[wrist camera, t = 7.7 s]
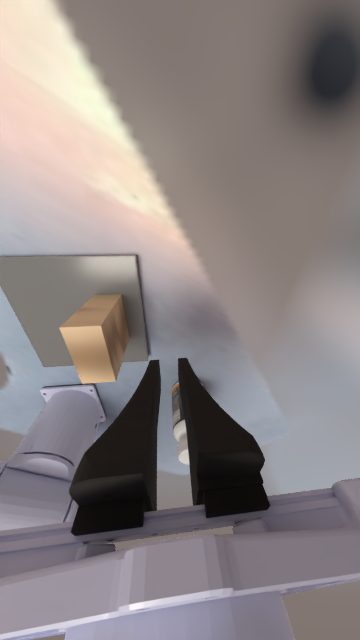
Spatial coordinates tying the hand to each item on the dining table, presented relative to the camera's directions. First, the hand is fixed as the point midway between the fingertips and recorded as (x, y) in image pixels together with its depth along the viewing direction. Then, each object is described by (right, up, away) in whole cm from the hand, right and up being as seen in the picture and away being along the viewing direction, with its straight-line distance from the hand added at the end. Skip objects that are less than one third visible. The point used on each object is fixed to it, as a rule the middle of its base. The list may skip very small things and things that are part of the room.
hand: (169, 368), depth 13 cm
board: (-11, +4, +8) cm, 14 cm away
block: (-7, +4, +7) cm, 11 cm away
